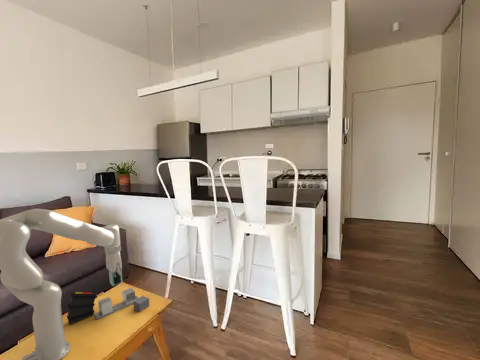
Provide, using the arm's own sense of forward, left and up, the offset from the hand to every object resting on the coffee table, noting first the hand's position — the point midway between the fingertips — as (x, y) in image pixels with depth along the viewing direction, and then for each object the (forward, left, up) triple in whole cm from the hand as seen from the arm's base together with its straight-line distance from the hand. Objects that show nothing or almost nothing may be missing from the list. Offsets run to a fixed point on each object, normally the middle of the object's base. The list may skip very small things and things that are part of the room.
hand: (116, 281), depth 135 cm
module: (0, 0, -1) cm, 1 cm away
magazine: (-15, +5, -16) cm, 22 cm away
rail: (0, 0, -15) cm, 15 cm away
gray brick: (+9, -9, -15) cm, 20 cm away
